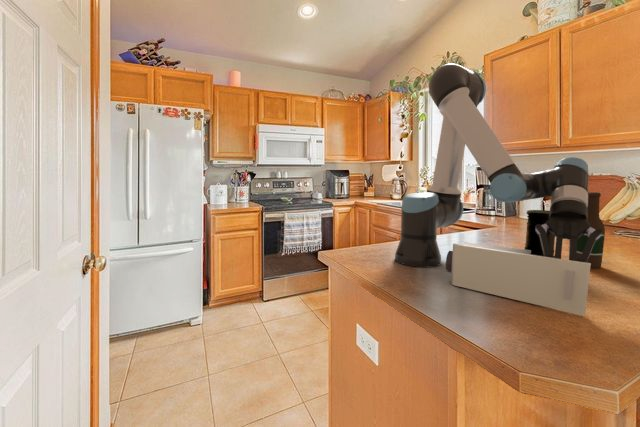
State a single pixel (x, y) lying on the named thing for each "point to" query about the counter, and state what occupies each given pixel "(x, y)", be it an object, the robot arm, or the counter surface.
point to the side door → (522, 277)
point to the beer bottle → (595, 223)
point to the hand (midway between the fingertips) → (562, 289)
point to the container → (532, 237)
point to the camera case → (449, 255)
